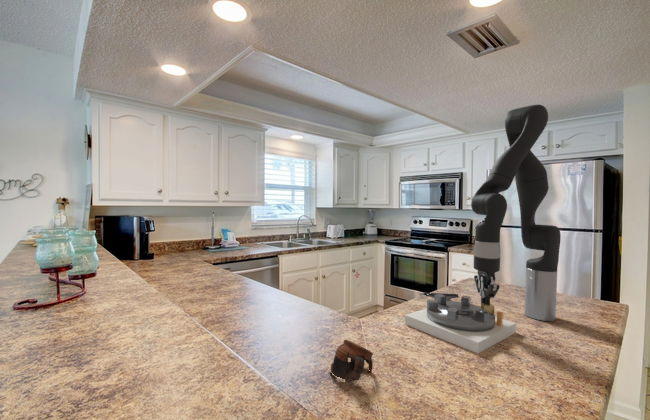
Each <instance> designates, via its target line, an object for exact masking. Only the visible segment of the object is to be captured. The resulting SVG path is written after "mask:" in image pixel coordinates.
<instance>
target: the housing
mask: <svg viewBox="0 0 650 420" xmlns="http://www.w3.org/2000/svg"><path fill="white" fill-rule="evenodd" d="M404 316H405V317H404V325H407V326H408V327H411V328H413V329H416V330H418V331H421V332H423V333H426V334H428V335H431V336H433V337H435V338H437V339H440V340H442V341H446V342H448V343H450V344H453V345H456V346H458V347H461V348H462V349H465V350H468V351H470V352H473V353H475V354H480V353H482V352H484V351H486V350H487V349H489V348H490V347H492V346H493V347H494V345H497V344H498V343H499V342H500V343H501V341H504V340H505V339H507V338H509V337H511V336H513V335H514V334H516V333H517V323H516V322H514V321H510V320H507V319H503V318H504V317H503V316H504V312H503V311H497V312H496V316H495V327H494V328H493V329H490V330H487V331H464V330H458V329H453V328H449V327H445V326H442V325H440V324H437V323H435V322H433V321H432V320H430V319H429V318H428V317H427V307H426V308H423V309H420V310H418V311H414V312H411V313H408V314H405V315H404Z"/></svg>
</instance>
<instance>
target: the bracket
mask: <svg viewBox="0 0 650 420" xmlns="http://www.w3.org/2000/svg"><path fill="white" fill-rule="evenodd" d="M430 293H431V294H430ZM422 294H423V296H424V295H426V296H425V297H430V298H434V296H435V294H441V295H444V296H446V301H453V300H452V299H454V298H459V294H458V293H442V292H441V293H440V292H423V293H422ZM427 294H429V295H427Z"/></svg>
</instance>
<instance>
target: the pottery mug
mask: <svg viewBox="0 0 650 420" xmlns="http://www.w3.org/2000/svg"><path fill="white" fill-rule="evenodd" d="M373 355H374V353H373V352H372V351H371V350H369V349H367V348H365V347H363V346H361V345H359V344H357V343H355V342H353V341H350V340H348V339H344V340H343V343H342V344H340V345H338V347H337V348H336V350H335V355H334V357H333V362H331V363H330V370H331V372H332V373H333V374H334V375H335V376H337V377H340V378H342V379H346V380H347V379H348V378H349V380H350V381H352V382H356V381H355V380H357V381H359V380H360V378H361V376H362V373H363V372H364V367H365V362H366V364H367V365H368V367H367V368H369V370H370V371H371V372H372V371H373V366H374V365H373V359H372V357H373ZM349 359H350V361H349ZM371 372H370V373H371Z"/></svg>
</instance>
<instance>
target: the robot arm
mask: <svg viewBox="0 0 650 420" xmlns="http://www.w3.org/2000/svg"><path fill="white" fill-rule="evenodd" d="M548 122H549V113H548V110H547V108H546V107H545V105H542V104H531V105H527V106H522V107H517V108H514V109H511V110H508V112H507V113H506V116H505V118H504V129H505V133H506V137H507V142H508V146H509V147H508V148H507V149H506V150H505V151H503V153H502V154H500V156H499V157H498V158H497V159H496V161H495V162H494V164H493V166H492V168H491V169H490V172H489V174H488V177H487V178H486V180H485V181H484V182H483V183H482V185H481V186H480V187H479V188H478V189H477V190H476V192H475V193H474V195H473V197H472V199H471V202H470V207H471V211H472V212H473V213H475V214H477V215H479V216H480V215H481V216H485V219H484V221H483V222H479V223H477V224H476V226H475V234H474V235H475V236H474V237H475V239H474V246H473V269H474V270H476V271H477V275H474V276H473V278H474V283H475V286H476V290H477V293H479V295H480V304H481V303H484V304H491V299H494V298H495V297H496V294H497V293H498V291H499V290H500V285H499V284H497V283H496V273H498V272H500V270H501V228H502V226H503V222H504V219H505V216H506V213H507V209H508V203H507V199H506V198H505V196H504V195H503V194H501V193H502V192H505V191H507V190H509V188H511V185H512V183H513V182H514V179H515V187H516V191H517V193H516V194H517V197H518V204H519V212H520V231H521V232H520V233H521V241H522V244H523V246H524V248H526V249H529V250H537V251H543V254H542V255H541V256H540V257H535V258H529V259H527V260H526V262H525V290H524V312H523V313H524V316H527V317H528V318H531V319H534V320H538V321H546V322H553V321H555V320H556V318H557V317H556V313H557V312H556V311H557V294H558V293H557V292H558V291H557V288H558V268H559V267H558V266H559V259H560V249H561V238H562V237H561V231H560V229H559V227H558V226H556V225H549V224H536V220H535V219H536V212H537V210H538V208H539V206H540V205H541V203H542V202H543V201H544V199H545V197H547V194H548V191H549V189H550V188H549V180H548V178H549V177H548V174H547V173H548V172H547V169H546V167H545V166H544V165H543V163H542V162H541V161H540V160H539V159H538V157H537V156H536V155H535V154H534V153H533V152H532V150H531V149H532V148H533V147H534V146H535V144H536V143H537V140H538V139H539V138H540V136H541V135H542V134H543V132H544V130H545V129H546V127H547V124H548Z"/></svg>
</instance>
